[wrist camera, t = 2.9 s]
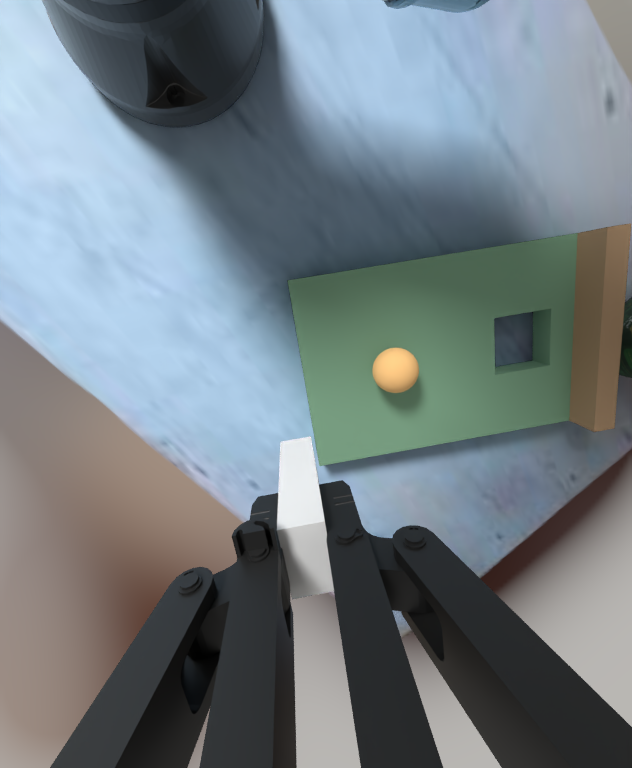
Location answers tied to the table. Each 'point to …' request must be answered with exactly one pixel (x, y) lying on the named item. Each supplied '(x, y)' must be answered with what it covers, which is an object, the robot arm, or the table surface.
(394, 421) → the putting board
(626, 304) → the coffee jar
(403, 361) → the ball
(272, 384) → the table surface
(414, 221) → the table surface
